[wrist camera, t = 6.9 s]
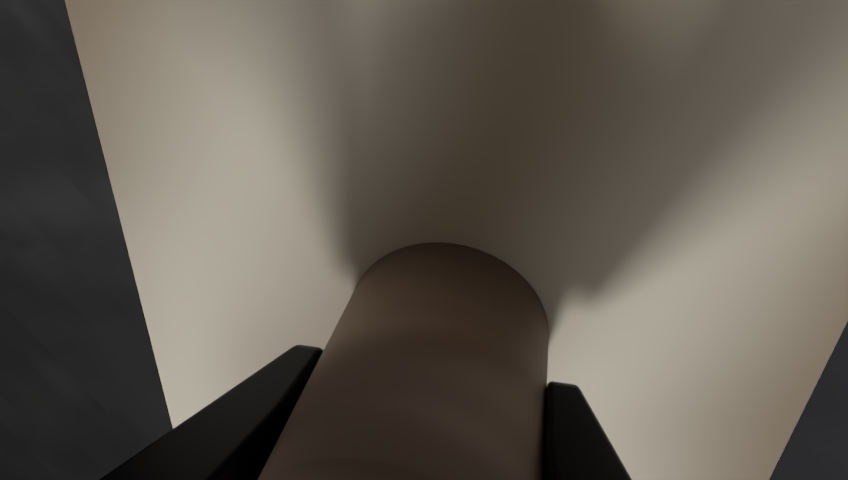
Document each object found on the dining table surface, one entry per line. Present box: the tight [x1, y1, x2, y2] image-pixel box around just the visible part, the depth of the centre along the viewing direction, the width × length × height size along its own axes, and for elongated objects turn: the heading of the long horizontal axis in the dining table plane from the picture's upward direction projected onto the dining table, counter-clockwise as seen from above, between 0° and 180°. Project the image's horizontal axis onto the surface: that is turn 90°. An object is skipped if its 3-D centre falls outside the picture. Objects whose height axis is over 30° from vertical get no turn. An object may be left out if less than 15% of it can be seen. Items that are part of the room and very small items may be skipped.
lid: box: [65, 0, 848, 480], centre depth 8 cm, size 11×11×5 cm
